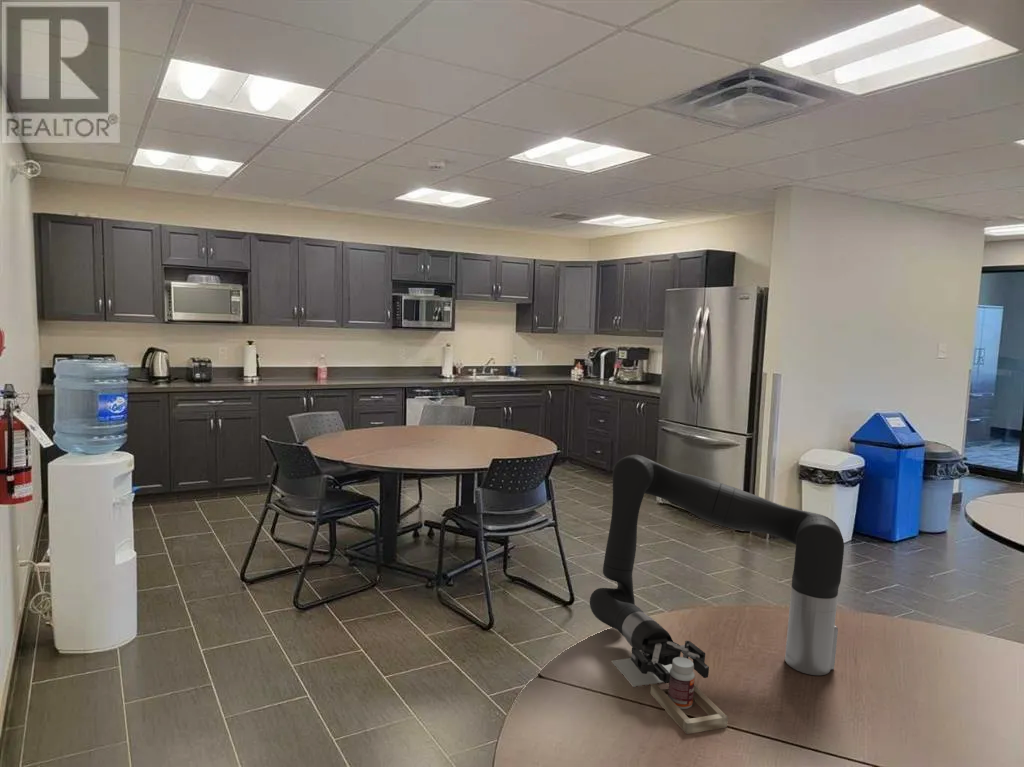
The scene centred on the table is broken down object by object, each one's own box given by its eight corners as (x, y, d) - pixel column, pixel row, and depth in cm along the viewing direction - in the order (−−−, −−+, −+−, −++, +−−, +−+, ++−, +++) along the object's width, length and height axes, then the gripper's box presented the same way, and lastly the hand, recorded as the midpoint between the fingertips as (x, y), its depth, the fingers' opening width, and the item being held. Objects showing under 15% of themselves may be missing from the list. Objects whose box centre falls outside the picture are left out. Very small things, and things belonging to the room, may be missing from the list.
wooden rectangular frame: (687, 688, 133) (688, 679, 133) (726, 727, 120) (727, 716, 120) (650, 693, 130) (651, 684, 130) (686, 734, 118) (687, 723, 118)
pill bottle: (693, 711, 125) (696, 670, 124) (668, 707, 126) (671, 666, 125) (691, 697, 129) (694, 657, 129) (667, 694, 130) (670, 654, 130)
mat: (664, 655, 146) (664, 653, 146) (689, 679, 136) (689, 677, 136) (611, 661, 142) (611, 660, 142) (633, 687, 132) (633, 685, 132)
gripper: (617, 622, 138) (656, 661, 123) (676, 616, 142) (721, 653, 127) (615, 656, 139) (653, 699, 123) (673, 649, 143) (718, 689, 128)
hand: (687, 676), depth 125 cm, fingers open, 8 cm apart
